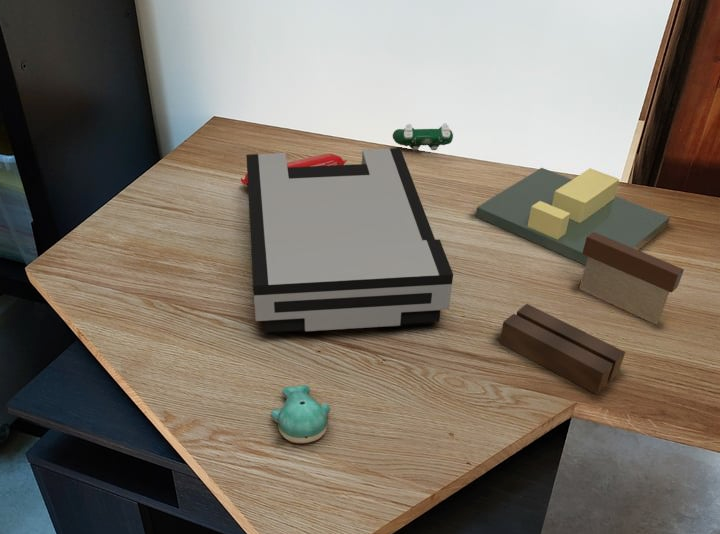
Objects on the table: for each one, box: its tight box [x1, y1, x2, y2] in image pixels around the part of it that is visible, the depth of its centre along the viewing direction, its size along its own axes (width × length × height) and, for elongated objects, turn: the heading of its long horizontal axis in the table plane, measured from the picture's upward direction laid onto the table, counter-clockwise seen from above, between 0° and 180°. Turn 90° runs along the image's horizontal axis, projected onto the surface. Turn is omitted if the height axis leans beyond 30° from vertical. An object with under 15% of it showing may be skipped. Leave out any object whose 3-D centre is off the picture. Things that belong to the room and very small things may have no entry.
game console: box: [245, 147, 454, 335], centre depth 95 cm, size 21×32×8 cm, turn 6°
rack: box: [498, 303, 626, 395], centre depth 83 cm, size 12×5×3 cm, turn 46°
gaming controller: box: [392, 122, 454, 152], centre depth 120 cm, size 9×4×6 cm
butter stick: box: [552, 168, 620, 223], centre depth 104 cm, size 4×9×3 cm, turn 136°
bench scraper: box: [578, 232, 685, 326], centre depth 88 cm, size 11×2×7 cm, turn 46°
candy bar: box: [240, 153, 348, 186], centre depth 112 cm, size 16×4×3 cm, turn 118°
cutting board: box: [475, 167, 671, 266], centre depth 104 cm, size 20×16×2 cm
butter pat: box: [527, 201, 570, 240], centre depth 99 cm, size 4×2×3 cm, turn 46°
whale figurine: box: [270, 384, 331, 444], centre depth 75 cm, size 6×7×4 cm
